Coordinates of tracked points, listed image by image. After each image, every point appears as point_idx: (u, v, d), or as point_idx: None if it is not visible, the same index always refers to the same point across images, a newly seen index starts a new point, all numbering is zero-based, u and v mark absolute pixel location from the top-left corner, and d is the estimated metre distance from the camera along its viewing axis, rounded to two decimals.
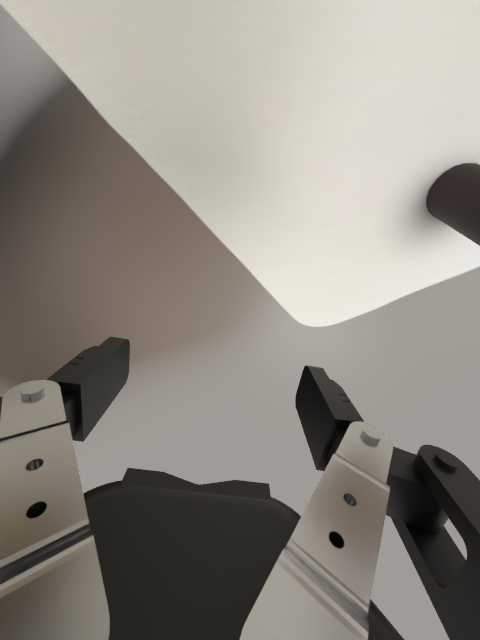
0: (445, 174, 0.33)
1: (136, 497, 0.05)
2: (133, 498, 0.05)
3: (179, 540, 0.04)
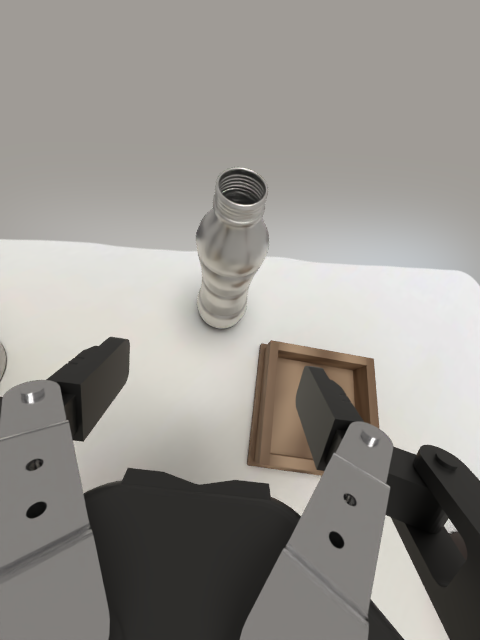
0: None
1: (136, 497, 0.05)
2: (133, 498, 0.05)
3: (179, 540, 0.04)
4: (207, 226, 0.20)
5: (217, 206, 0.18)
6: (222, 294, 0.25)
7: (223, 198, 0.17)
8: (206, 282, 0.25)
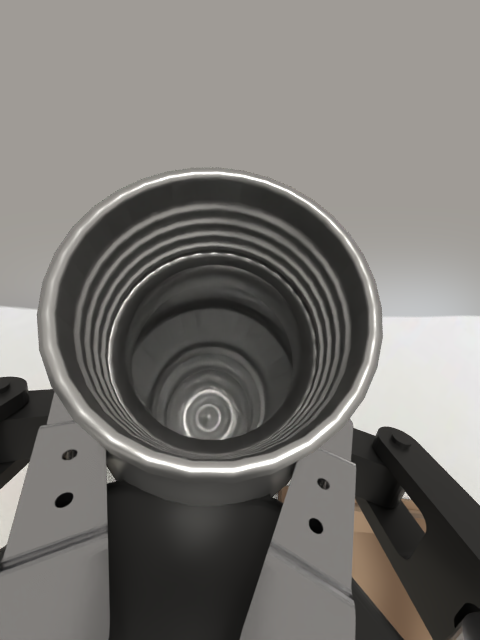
0: None
1: (136, 497, 0.05)
2: (133, 498, 0.05)
3: (179, 540, 0.04)
4: None
5: None
6: None
7: (73, 414, 0.02)
8: None
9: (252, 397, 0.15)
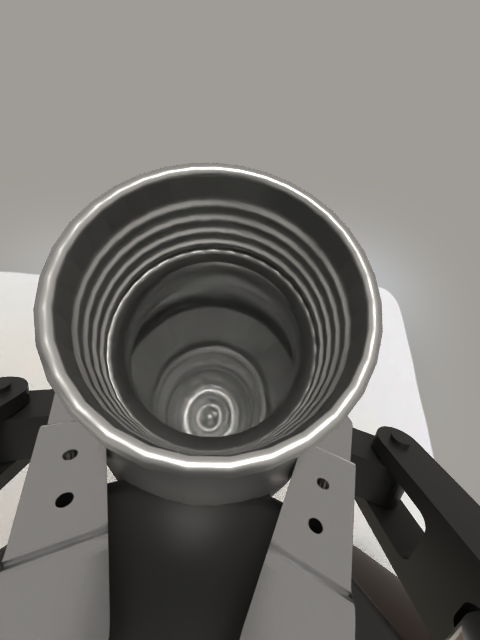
0: None
1: (136, 497, 0.05)
2: (133, 498, 0.05)
3: (179, 540, 0.04)
4: None
5: None
6: None
7: (68, 409, 0.02)
8: None
9: (253, 396, 0.15)
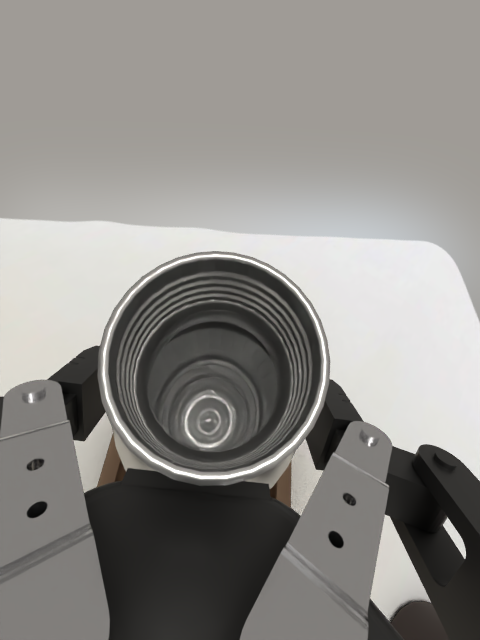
0: None
1: (136, 497, 0.05)
2: (133, 498, 0.05)
3: (179, 540, 0.04)
4: None
5: None
6: None
7: (126, 443, 0.03)
8: None
9: (249, 403, 0.16)
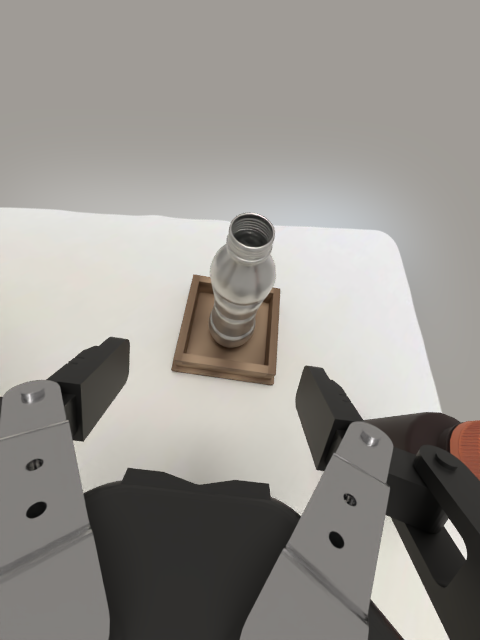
0: None
1: (136, 497, 0.05)
2: (133, 498, 0.05)
3: (179, 540, 0.04)
4: (221, 263, 0.22)
5: (230, 248, 0.20)
6: (234, 319, 0.28)
7: (237, 243, 0.19)
8: (219, 308, 0.27)
9: None
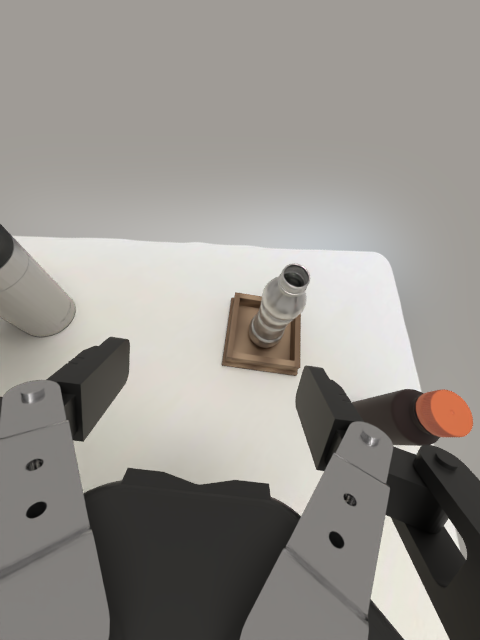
0: None
1: (136, 497, 0.05)
2: (133, 498, 0.05)
3: (179, 540, 0.04)
4: (273, 293, 0.34)
5: (282, 286, 0.32)
6: (274, 328, 0.40)
7: (287, 284, 0.31)
8: (264, 321, 0.39)
9: None
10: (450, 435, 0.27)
